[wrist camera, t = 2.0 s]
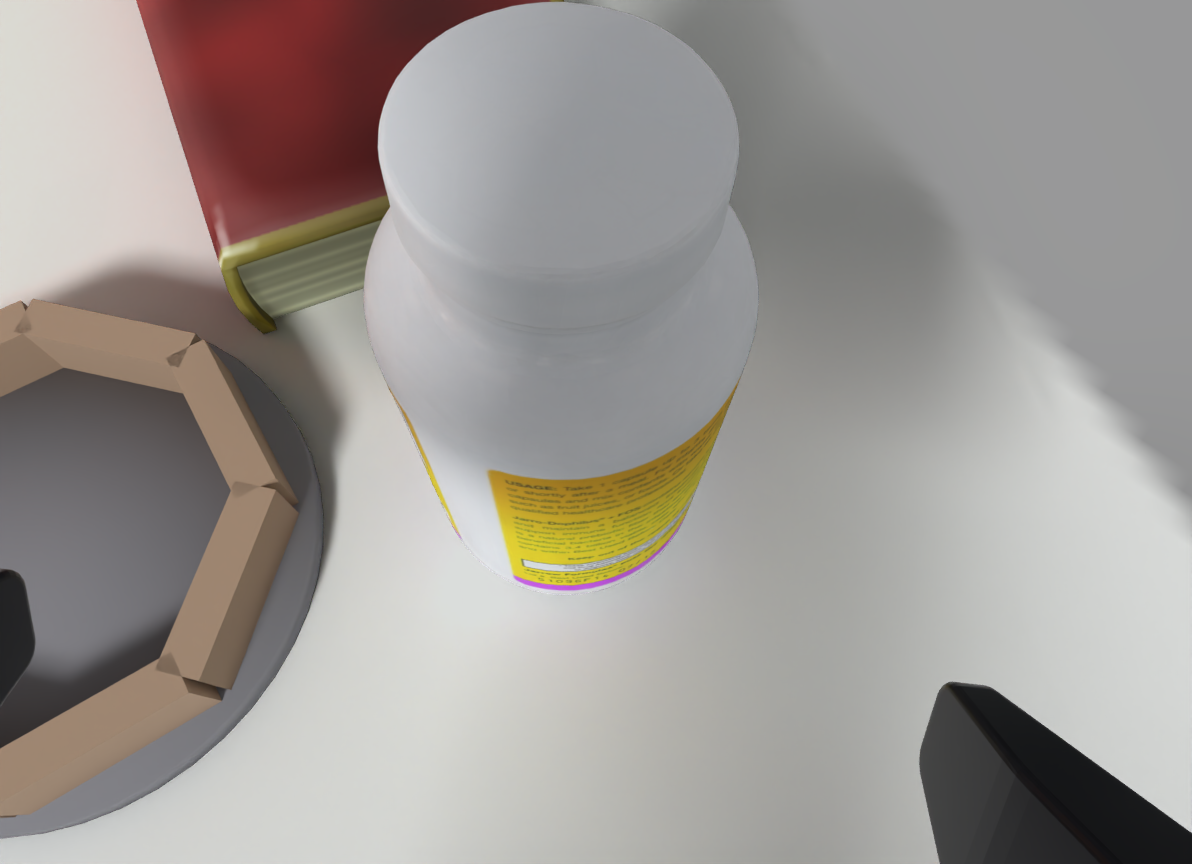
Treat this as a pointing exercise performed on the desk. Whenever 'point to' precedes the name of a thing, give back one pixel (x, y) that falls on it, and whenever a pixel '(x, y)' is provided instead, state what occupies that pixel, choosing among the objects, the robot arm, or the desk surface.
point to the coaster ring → (140, 554)
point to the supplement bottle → (561, 284)
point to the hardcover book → (290, 130)
